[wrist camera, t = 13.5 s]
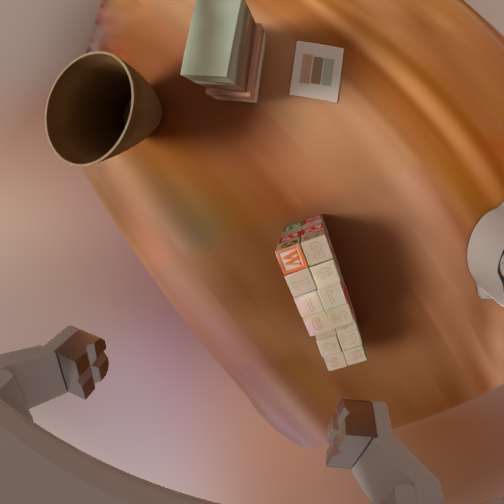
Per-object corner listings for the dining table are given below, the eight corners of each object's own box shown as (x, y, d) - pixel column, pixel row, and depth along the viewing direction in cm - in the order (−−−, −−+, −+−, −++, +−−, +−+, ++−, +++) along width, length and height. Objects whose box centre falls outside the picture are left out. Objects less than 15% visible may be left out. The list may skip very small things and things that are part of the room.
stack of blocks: (360, 328, 51) (369, 373, 39) (326, 339, 52) (327, 385, 41) (321, 212, 46) (325, 233, 34) (282, 226, 48) (273, 252, 36)
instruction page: (343, 48, 37) (344, 48, 37) (337, 102, 40) (337, 102, 40) (297, 41, 38) (297, 40, 38) (289, 94, 41) (289, 94, 41)
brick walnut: (256, 26, 33) (250, 11, 28) (246, 92, 36) (237, 85, 32) (220, 25, 34) (210, 11, 29) (209, 89, 37) (196, 82, 32)
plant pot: (111, 163, 49) (48, 174, 34) (107, 84, 44) (45, 72, 30) (188, 153, 46) (136, 157, 31) (183, 64, 42) (132, 35, 27)
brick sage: (250, 12, 28) (242, -5, 24) (237, 86, 32) (226, 76, 27) (210, 12, 29) (197, -5, 24) (196, 83, 32) (180, 74, 28)
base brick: (267, 37, 38) (261, 23, 33) (257, 103, 42) (249, 96, 37) (228, 35, 39) (217, 22, 34) (218, 99, 43) (205, 93, 37)
